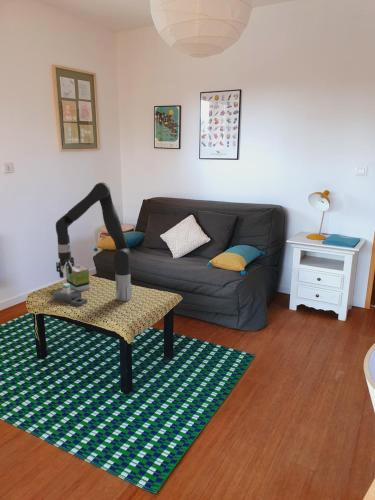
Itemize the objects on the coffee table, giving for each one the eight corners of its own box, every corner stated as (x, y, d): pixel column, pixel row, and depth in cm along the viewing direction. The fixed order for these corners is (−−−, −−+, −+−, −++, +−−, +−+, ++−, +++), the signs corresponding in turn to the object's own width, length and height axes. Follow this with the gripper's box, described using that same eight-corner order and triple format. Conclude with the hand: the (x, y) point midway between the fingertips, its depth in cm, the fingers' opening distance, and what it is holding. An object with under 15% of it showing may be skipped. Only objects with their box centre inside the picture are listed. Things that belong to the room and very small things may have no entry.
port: (81, 297, 249) (81, 290, 247) (71, 303, 240) (71, 295, 238) (63, 294, 253) (63, 286, 252) (53, 299, 244) (52, 292, 243)
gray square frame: (87, 302, 242) (87, 299, 241) (80, 306, 236) (80, 303, 235) (77, 300, 244) (77, 297, 244) (70, 304, 238) (70, 301, 238)
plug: (70, 296, 247) (70, 283, 245) (67, 298, 244) (66, 285, 242) (66, 296, 248) (65, 282, 246) (63, 298, 245) (62, 284, 243)
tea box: (66, 286, 268) (65, 266, 264) (79, 283, 274) (78, 263, 270) (76, 292, 257) (75, 271, 253) (90, 289, 264) (89, 268, 260)
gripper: (61, 254, 230) (63, 280, 235) (76, 248, 243) (78, 273, 247) (51, 252, 233) (53, 278, 237) (66, 247, 246) (68, 271, 250)
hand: (66, 275), depth 242 cm, fingers open, 8 cm apart
